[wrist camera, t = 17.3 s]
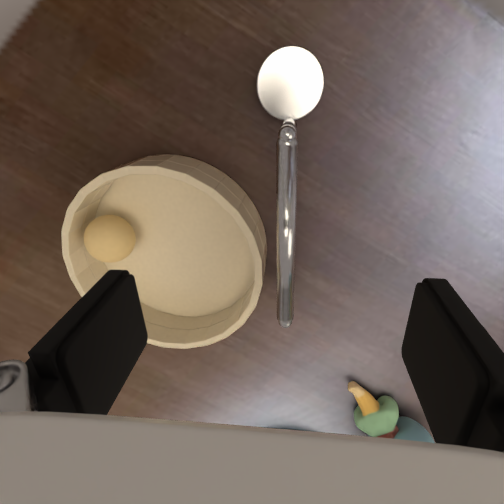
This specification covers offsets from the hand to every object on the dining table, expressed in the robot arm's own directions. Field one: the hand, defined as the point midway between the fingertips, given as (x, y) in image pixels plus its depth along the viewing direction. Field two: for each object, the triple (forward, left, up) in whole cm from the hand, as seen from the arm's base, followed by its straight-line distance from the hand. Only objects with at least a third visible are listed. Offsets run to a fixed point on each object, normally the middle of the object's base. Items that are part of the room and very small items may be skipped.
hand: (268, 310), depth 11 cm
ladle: (0, 0, -17) cm, 17 cm away
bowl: (+6, -10, -17) cm, 20 cm away
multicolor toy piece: (+25, +10, -17) cm, 32 cm away
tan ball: (+5, -14, -12) cm, 19 cm away
